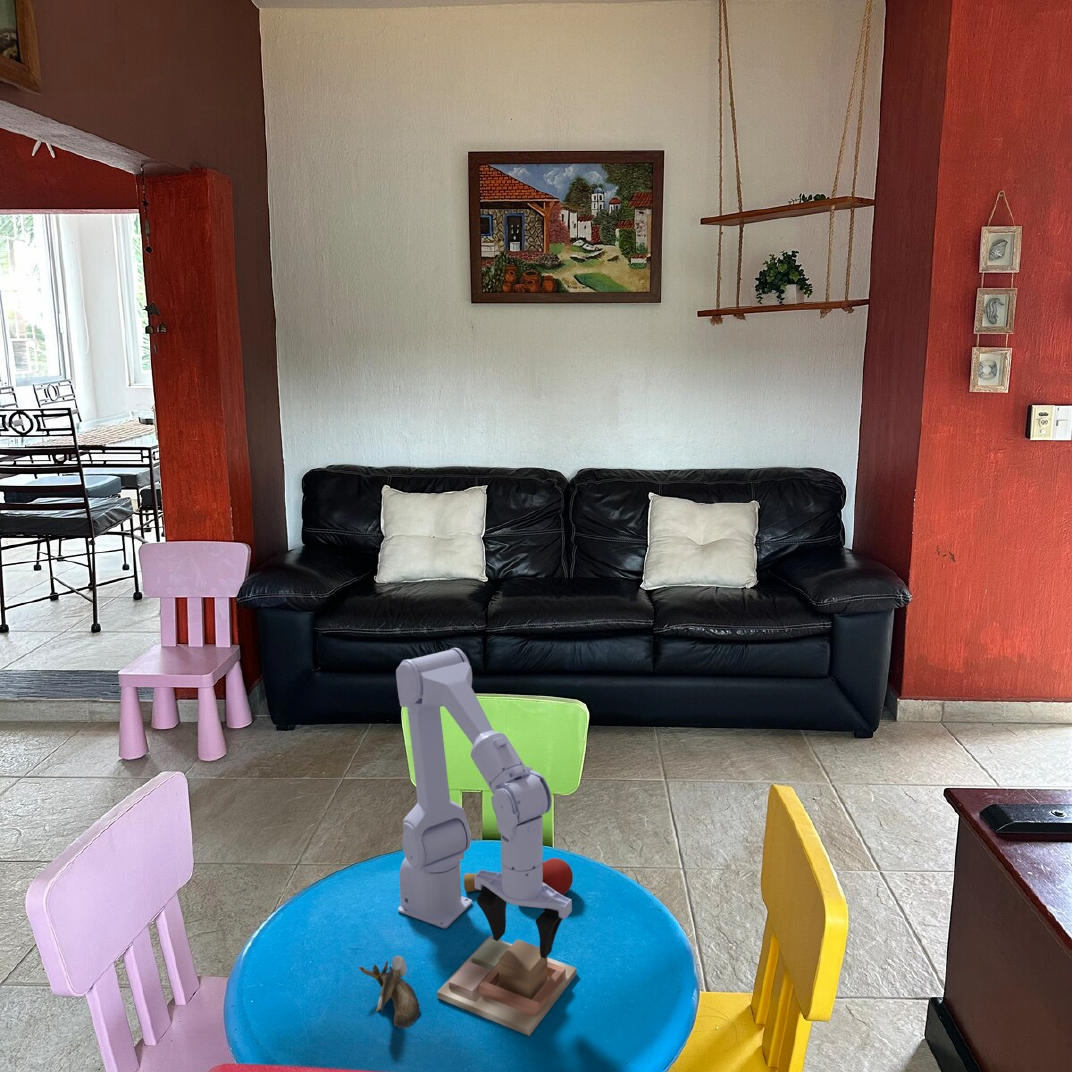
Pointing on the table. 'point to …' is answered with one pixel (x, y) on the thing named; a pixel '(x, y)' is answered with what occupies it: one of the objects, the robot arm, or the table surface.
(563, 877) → the kendama
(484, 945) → the puzzle board
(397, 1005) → the eagle figurine
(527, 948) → the walnut block
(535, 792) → the robot arm
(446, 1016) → the table surface
